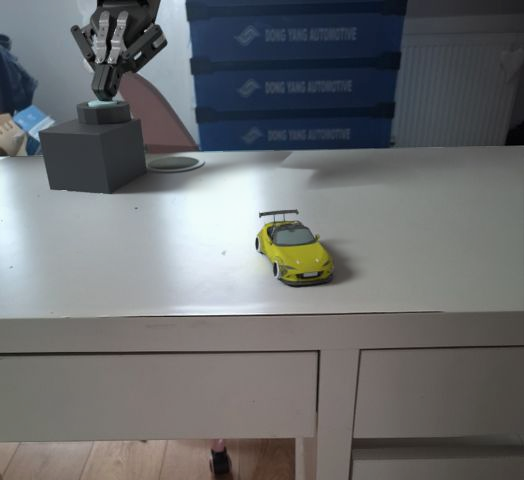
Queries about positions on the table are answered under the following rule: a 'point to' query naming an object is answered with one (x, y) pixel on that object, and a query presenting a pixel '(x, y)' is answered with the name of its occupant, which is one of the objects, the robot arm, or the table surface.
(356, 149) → the table surface
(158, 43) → the robot arm
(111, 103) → the pale turquoise short cylinder
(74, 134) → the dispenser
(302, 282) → the sports car
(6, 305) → the table surface
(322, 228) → the table surface
